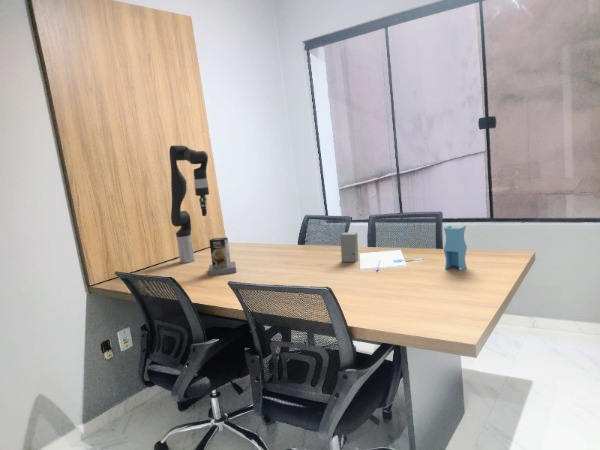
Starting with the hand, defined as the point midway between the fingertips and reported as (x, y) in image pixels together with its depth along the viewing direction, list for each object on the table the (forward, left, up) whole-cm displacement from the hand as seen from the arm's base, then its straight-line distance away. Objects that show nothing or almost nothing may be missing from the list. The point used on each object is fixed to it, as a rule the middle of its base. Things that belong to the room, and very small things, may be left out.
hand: (204, 214), depth 239 cm
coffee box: (+7, +6, -30) cm, 31 cm away
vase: (+66, +117, -33) cm, 138 cm away
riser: (+7, +6, -33) cm, 34 cm away
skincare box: (+25, +77, -33) cm, 88 cm away
